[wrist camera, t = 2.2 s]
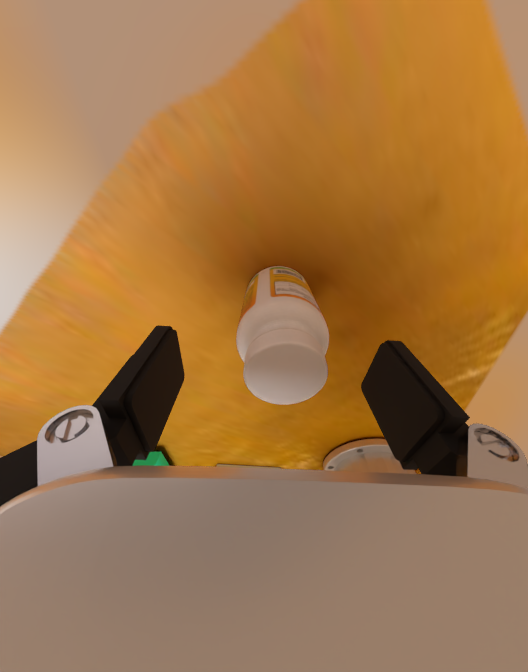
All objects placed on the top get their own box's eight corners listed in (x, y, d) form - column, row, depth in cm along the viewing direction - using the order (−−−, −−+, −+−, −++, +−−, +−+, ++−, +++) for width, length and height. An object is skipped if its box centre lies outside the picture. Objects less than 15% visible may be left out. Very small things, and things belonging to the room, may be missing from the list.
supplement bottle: (261, 332, 20) (258, 424, 12) (234, 281, 18) (205, 354, 9) (317, 311, 19) (355, 398, 11) (296, 252, 16) (326, 308, 8)
